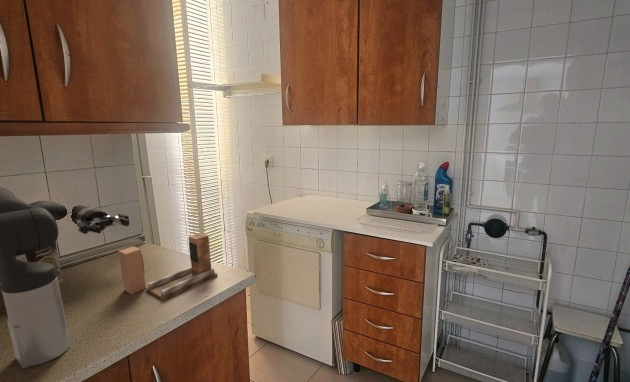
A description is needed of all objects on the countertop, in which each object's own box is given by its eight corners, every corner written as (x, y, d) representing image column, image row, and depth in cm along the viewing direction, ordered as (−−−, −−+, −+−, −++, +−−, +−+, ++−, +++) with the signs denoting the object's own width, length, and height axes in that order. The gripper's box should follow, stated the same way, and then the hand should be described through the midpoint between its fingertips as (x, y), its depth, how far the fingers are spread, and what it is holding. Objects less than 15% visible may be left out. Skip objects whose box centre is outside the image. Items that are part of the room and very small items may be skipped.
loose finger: (131, 294, 100) (125, 254, 97) (124, 289, 103) (118, 250, 100) (147, 287, 104) (142, 249, 101) (140, 283, 107) (135, 245, 104)
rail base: (163, 300, 96) (157, 255, 93) (146, 290, 102) (140, 248, 99) (217, 276, 111) (214, 236, 108) (199, 268, 117) (196, 231, 114)
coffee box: (36, 296, 100) (25, 246, 96) (19, 294, 101) (8, 244, 98) (64, 282, 108) (55, 235, 105) (48, 280, 110) (39, 234, 106)
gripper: (115, 224, 124) (137, 231, 114) (71, 235, 112) (91, 244, 103) (112, 204, 122) (134, 210, 113) (67, 214, 111) (87, 221, 101)
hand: (113, 226), depth 108 cm, fingers open, 8 cm apart
